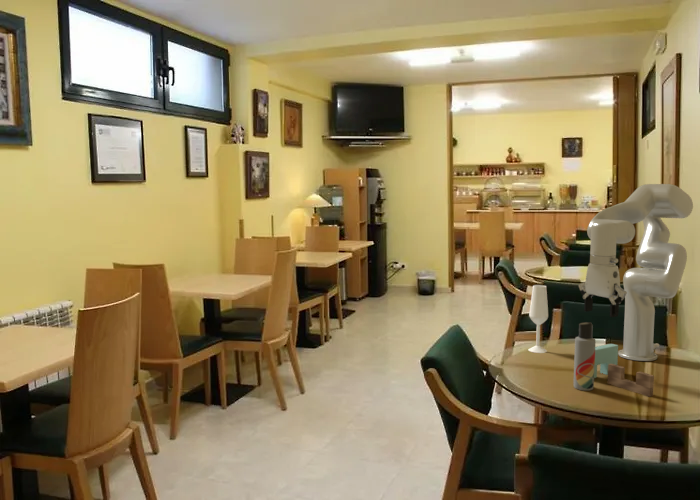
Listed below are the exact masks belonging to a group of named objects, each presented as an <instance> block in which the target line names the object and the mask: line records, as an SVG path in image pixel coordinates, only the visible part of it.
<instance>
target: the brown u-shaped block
mask: <svg viewBox="0 0 700 500" xmlns="http://www.w3.org/2000/svg"><path fill="white" fill-rule="evenodd" d="M625 370H626V369H625V367H624V366H622V365H618V364H617V365H615V364H608V375H607V384H608V385H612V386H615V387H617V388H621V389H623V390H627V391H630V392H633V393H636V394H641V395H643V396H646V397H653V396H654V383H655V382H654V381H655V376H654V374H650V373H646V372H643V371H637V372H635V373H636V374H635V381H633V380H630V379H627V378H625Z"/></svg>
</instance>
